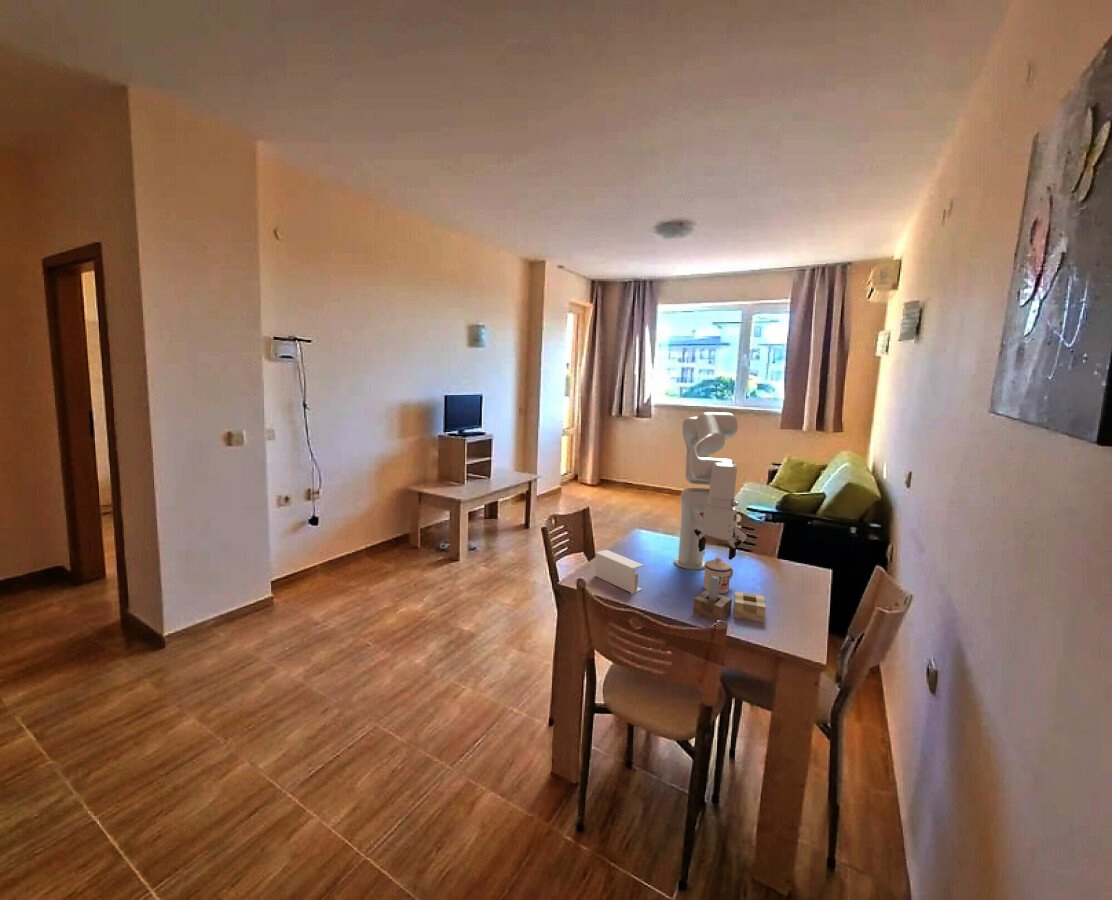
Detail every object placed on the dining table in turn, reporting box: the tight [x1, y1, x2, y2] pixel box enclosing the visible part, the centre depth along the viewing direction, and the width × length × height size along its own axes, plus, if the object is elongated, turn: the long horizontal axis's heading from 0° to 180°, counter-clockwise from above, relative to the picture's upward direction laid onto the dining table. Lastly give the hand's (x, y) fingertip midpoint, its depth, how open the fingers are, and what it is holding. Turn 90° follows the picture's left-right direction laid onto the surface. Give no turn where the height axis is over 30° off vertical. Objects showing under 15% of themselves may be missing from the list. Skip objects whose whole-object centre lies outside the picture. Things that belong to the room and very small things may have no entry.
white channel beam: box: [594, 549, 644, 595], centre depth 187 cm, size 20×6×9 cm, turn 39°
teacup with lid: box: [703, 556, 734, 595], centre depth 184 cm, size 12×9×12 cm
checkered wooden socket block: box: [733, 590, 766, 623], centre depth 166 cm, size 9×9×5 cm
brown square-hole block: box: [692, 589, 733, 622], centre depth 165 cm, size 9×9×5 cm
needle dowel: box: [709, 576, 719, 602], centre depth 164 cm, size 3×3×12 cm
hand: (716, 554), depth 163 cm, fingers open, 9 cm apart
